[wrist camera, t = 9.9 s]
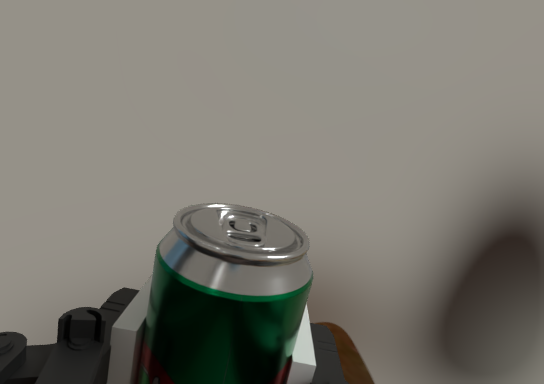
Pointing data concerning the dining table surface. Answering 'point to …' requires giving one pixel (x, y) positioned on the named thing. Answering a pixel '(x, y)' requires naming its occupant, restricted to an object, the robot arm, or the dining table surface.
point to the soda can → (225, 298)
